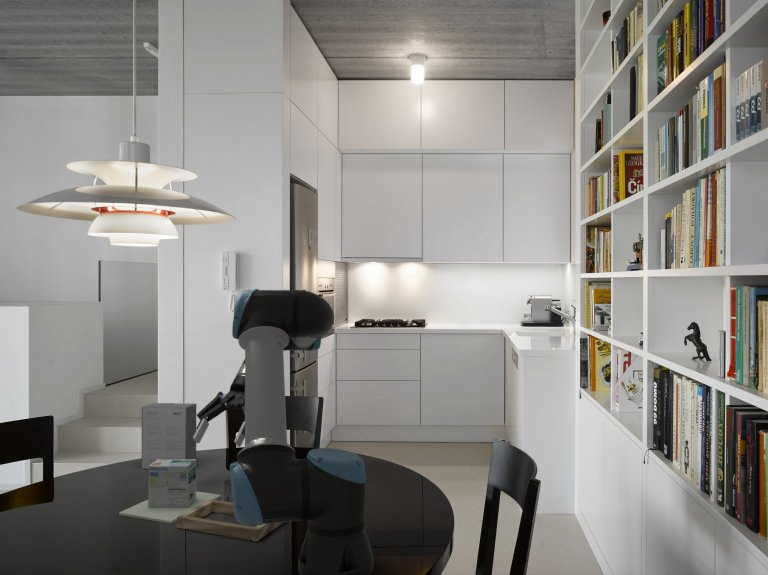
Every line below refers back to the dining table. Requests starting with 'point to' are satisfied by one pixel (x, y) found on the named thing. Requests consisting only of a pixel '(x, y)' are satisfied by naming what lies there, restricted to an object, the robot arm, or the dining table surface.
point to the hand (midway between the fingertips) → (216, 442)
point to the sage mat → (166, 509)
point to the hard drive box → (168, 432)
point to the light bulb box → (172, 483)
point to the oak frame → (197, 523)
